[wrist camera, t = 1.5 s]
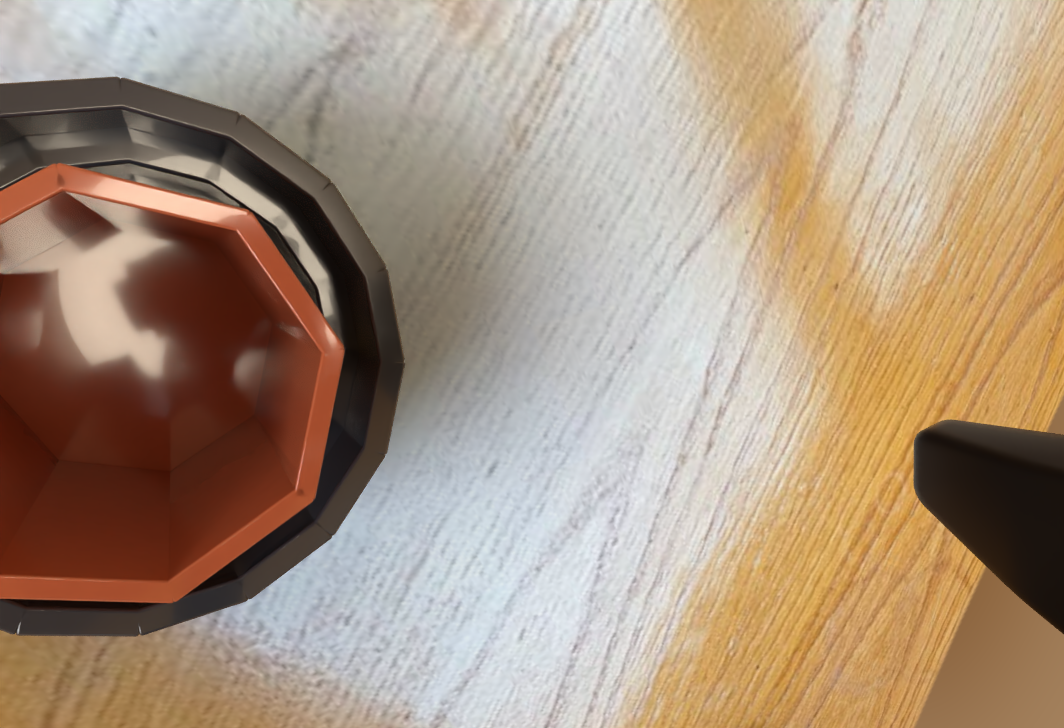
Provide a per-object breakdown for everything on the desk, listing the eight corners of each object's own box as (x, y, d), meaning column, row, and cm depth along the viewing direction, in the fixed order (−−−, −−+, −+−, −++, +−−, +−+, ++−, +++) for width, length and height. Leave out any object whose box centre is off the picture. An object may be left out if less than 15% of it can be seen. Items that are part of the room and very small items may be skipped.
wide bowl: (83, 638, 20) (57, 746, 15) (-269, 278, 16) (-440, 284, 12) (426, 391, 23) (486, 422, 19) (197, 45, 19) (204, -22, 15)
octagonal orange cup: (104, 529, 19) (63, 685, 12) (-96, 309, 17) (-291, 342, 10) (327, 377, 21) (405, 434, 14) (174, 161, 19) (175, 99, 12)
